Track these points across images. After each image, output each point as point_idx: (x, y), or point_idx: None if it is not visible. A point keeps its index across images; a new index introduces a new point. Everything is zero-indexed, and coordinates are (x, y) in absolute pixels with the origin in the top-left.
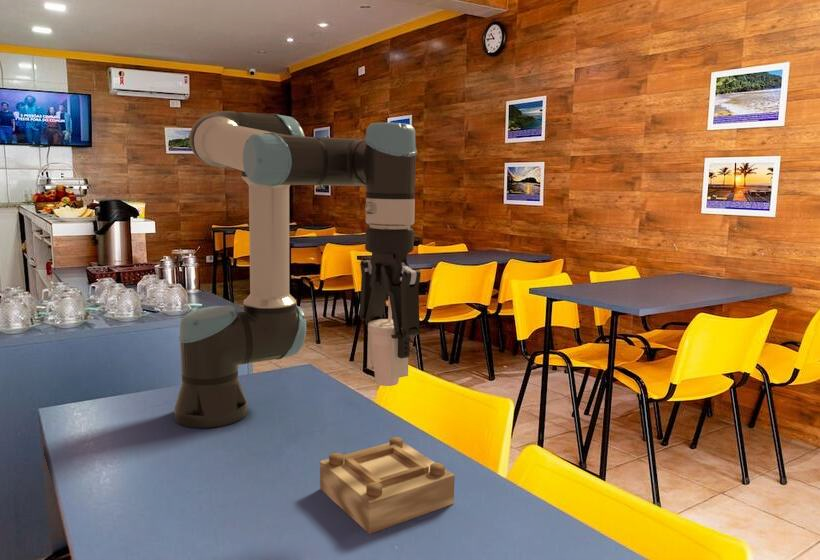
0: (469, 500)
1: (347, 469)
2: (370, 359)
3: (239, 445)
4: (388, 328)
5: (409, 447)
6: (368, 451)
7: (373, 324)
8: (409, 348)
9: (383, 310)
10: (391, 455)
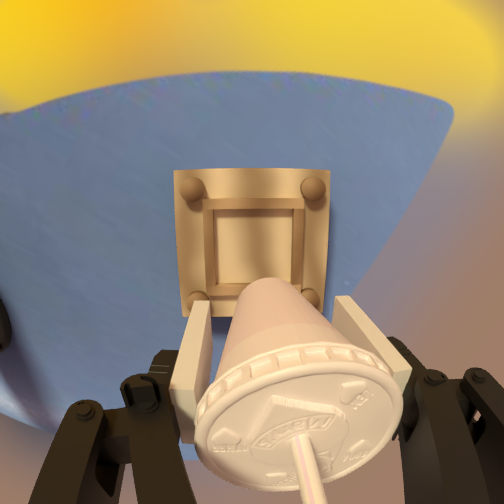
0: (321, 147)
1: (226, 296)
2: (211, 360)
3: (51, 325)
4: (372, 457)
5: (209, 171)
6: (187, 240)
7: (276, 482)
8: (411, 353)
9: (182, 465)
10: (219, 215)
